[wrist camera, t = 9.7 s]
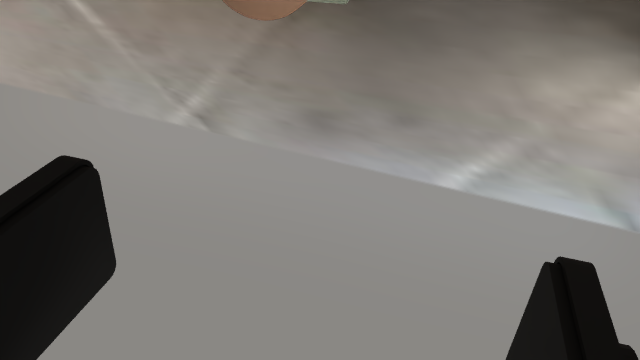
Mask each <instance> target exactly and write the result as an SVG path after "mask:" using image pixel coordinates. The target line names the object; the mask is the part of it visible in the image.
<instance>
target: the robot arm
mask: <svg viewBox="0 0 640 360" xmlns="http://www.w3.org/2000/svg"><path fill="white" fill-rule="evenodd" d="M115 268H116V258H115V253H114V248H113V243H112V238H111V233H110V228H109V222H108V217H107V212H106V207H105V202H104V197H103V191H102V186H101V181H100V176H99V173H98V171H97V170H96V169H95V168H94V167H93V165H92V163H91V162H90V161H88V160H85V159H80V158H75V157H70V156H59V157H57V158H56V159H54V160H53V161H51V162H50V163H48V164H47V165H45V166H44V167H42V168H41V169H39V170H38V171H37V172H35V173H33V174H32V175H30V176H29V177H27V178H26V179H24V180H23V181H21V182H20V183H18V184H17V185H15V186H14V187H12V188H11V189H9V190H8V191H6V192H5V193H3V194H2V195H0V360H36V359H37V358H38V357H39V356H40V355H41V354H42V353H43V352H44V351H45V350H46V349H47V347H48V346H49V345H50V344H51V343H52V342H53V341H54V340H55V339H56V337H57V336H58V335H59V334H60V333H61V332H62V331H63V330H64V329H65V328H66V326H67V325H68V324H69V323H70V322H71V321H72V320H73V319H74V318H75V317H76V316H77V314H78V313H79V312H80V311H81V310H82V309H83V308H84V307H85V306H86V305H87V303H88V302H89V301H90V300H91V299H92V298H93V297H94V296H95V294H96V293H97V292H98V291H99V290H100V289H101V288H102V287H103V286H104V285H105V284H106V283H107V281H108V280H109V279H110V278H111V277H112V275H113V273H114V271H115ZM506 360H638V357H637V355H636V353H635V351H634V350H633V349H632V348H631V347H630V346H629V345H624V344H620V343H619V342H618V339H617V336H616V332H615V329H614V326H613V323H612V320H611V317H610V313H609V310H608V307H607V304H606V301H605V298H604V295H603V291H602V289H601V285H600V282H599V279H598V276H597V272H596V269H595V267H594V265H593V264H592V263H589V262H584V261H579V260H575V259H569V258H565V257H558V258H557V259H556V260H555V262H554V263H550V262H545V263H544V264H543V266H542V268H541V271H540V273H539V276H538V278H537V281H536V283H535V286H534V289H533V291H532V294H531V296H530V299H529V301H528V304H527V306H526V309H525V312H524V314H523V317H522V319H521V322H520V324H519V327H518V329H517V332H516V334H515V337H514V339H513V342H512V344H511V347H510V350H509V352H508V355H507V357H506Z"/></svg>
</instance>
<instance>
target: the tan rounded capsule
mask: <svg viewBox="0 0 640 360" xmlns="http://www.w3.org/2000/svg"><path fill="white" fill-rule="evenodd" d="M306 1H307V0H223V2H224V3H225V4H227V5H228V6H229V7H230V8H231V9H233V10H234V11H236V12H237V13H239V14H241V15H243V16H246V17H248V18H251V19H256V20H265V21H266V20H275V19H280V18H283V17H285V16H288V15H289V14H291V13H293V12H294V11H296V10H297V9H298V8H300V7H301V6H302V5H303V4H304V3H305V2H306Z"/></svg>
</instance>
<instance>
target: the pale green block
mask: <svg viewBox="0 0 640 360" xmlns="http://www.w3.org/2000/svg"><path fill="white" fill-rule="evenodd" d="M307 1H310V2H323V3H335V4H347V3H348V1H349V0H307Z"/></svg>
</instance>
